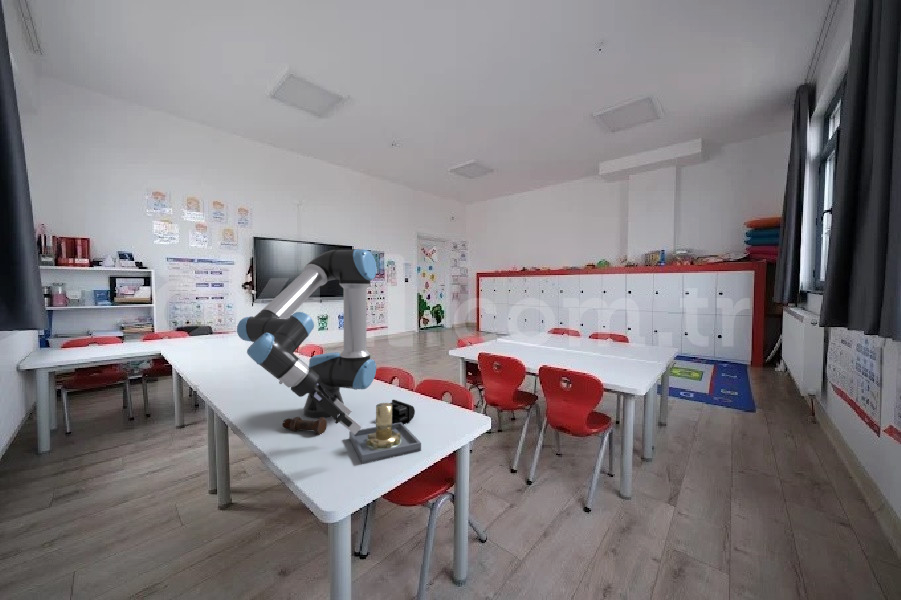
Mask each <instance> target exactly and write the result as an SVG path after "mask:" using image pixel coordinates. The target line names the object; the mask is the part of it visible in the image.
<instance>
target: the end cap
mask: <svg viewBox="0 0 901 600" xmlns="http://www.w3.org/2000/svg"><path fill="white" fill-rule="evenodd" d="M389 403H390V404H392V424H393V423H400V422H402V423H403V425H404V424H405V425H407V424H409V423H410V422H411V421H412V420H413V419H414V417H415V413H416V410H415V407H414V406H413V405H412V404H408V403H405V402H402V401H400V400H397V399H391V402H389ZM406 423H407V424H406ZM405 425H404V426H405Z"/></svg>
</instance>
